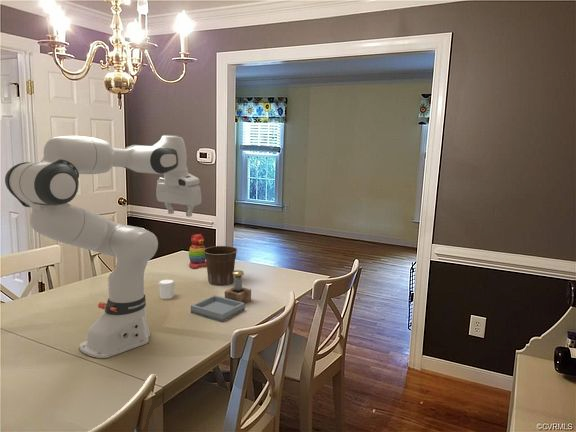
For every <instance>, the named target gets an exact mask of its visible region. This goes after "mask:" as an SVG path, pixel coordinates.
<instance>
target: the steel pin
mask: <svg viewBox="0 0 576 432" xmlns="http://www.w3.org/2000/svg"><path fill="white" fill-rule="evenodd" d="M244 274H245V273H244V270H239V269H236V270H235V269H234V271H233V276H234V279H233V287H234V292H238V293H240V292H242V285H243V283H242V282H243V276H244Z"/></svg>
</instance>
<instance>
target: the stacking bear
mask: <svg viewBox="0 0 576 432" xmlns="http://www.w3.org/2000/svg"><path fill="white" fill-rule="evenodd" d="M190 241H191V246H190V247H189V250H188V258H189V264H188V266H189V268H190V269H192V270H197V269H200V268H207V264H206V259H205V253H204V249H206V247H205V245H204V243H205V238H204V236H203V234H202V233H199V234H198V233H197V234H192V235H191V239H190Z"/></svg>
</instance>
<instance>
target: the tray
mask: <svg viewBox="0 0 576 432" xmlns="http://www.w3.org/2000/svg"><path fill="white" fill-rule="evenodd" d="M245 304H246V303H242V302H238V301H235V300H231V299H227V298H225V297H222V296H219V295H217V294H216V295H215V294H214V295H211V296H209V297H206V298H205V299H203V300H201V301H197V302H196V303H194V304H193V303H192V304H191V305H190V314H194V315H196V316H197V315H198V316H201V317H203V318H208V319H210V320H214V321H217V322H221V323H224V322H225V321H227V320H229V319H230V318H232V317H234V316H236V315H238V314H240V313H242V312H244V311H245Z"/></svg>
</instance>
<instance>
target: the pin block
mask: <svg viewBox="0 0 576 432" xmlns="http://www.w3.org/2000/svg"><path fill="white" fill-rule="evenodd" d="M224 298H227V299H231V300H235V301H238V302H242V303H245V304H247V303H249V302H251V301H252V289H251V288H247V287H242V292H240V293H238V292H234V286H233V287H231V288H228V289H227V290H225V291H224Z"/></svg>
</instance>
